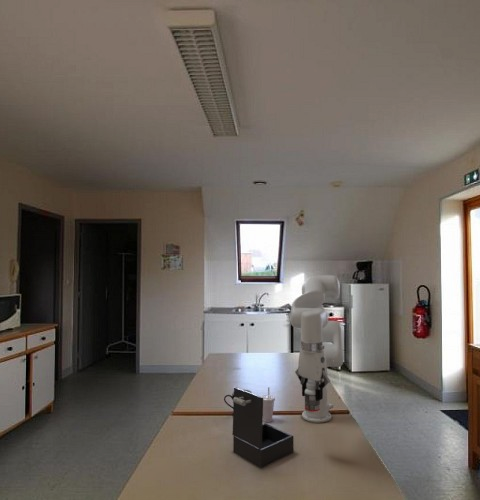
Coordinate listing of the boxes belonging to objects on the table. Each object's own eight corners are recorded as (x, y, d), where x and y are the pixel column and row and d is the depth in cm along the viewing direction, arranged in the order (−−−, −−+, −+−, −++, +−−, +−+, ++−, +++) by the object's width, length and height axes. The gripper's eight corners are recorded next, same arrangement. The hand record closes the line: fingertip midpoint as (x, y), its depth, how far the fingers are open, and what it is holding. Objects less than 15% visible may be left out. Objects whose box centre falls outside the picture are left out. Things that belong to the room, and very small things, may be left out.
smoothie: (273, 424, 159) (273, 390, 159) (258, 423, 160) (258, 389, 160) (276, 418, 165) (276, 385, 165) (261, 417, 166) (261, 384, 167)
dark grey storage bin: (265, 438, 145) (265, 423, 146) (293, 452, 135) (293, 435, 135) (233, 452, 135) (233, 435, 135) (261, 468, 124) (261, 450, 124)
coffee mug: (255, 414, 169) (255, 391, 169) (244, 421, 162) (244, 397, 162) (234, 409, 175) (234, 387, 176) (222, 415, 168) (222, 392, 168)
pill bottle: (303, 408, 138) (303, 381, 138) (317, 407, 138) (317, 380, 138) (306, 414, 132) (306, 386, 132) (321, 413, 133) (321, 385, 133)
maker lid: (235, 387, 136) (224, 389, 133) (263, 397, 126) (251, 400, 122) (234, 434, 135) (222, 438, 132) (262, 448, 125) (250, 453, 121)
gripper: (337, 348, 132) (338, 401, 132) (300, 341, 144) (300, 389, 144) (324, 352, 127) (325, 407, 126) (287, 344, 139) (287, 394, 139)
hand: (312, 397), depth 135 cm, fingers closed on pill bottle, 5 cm apart
